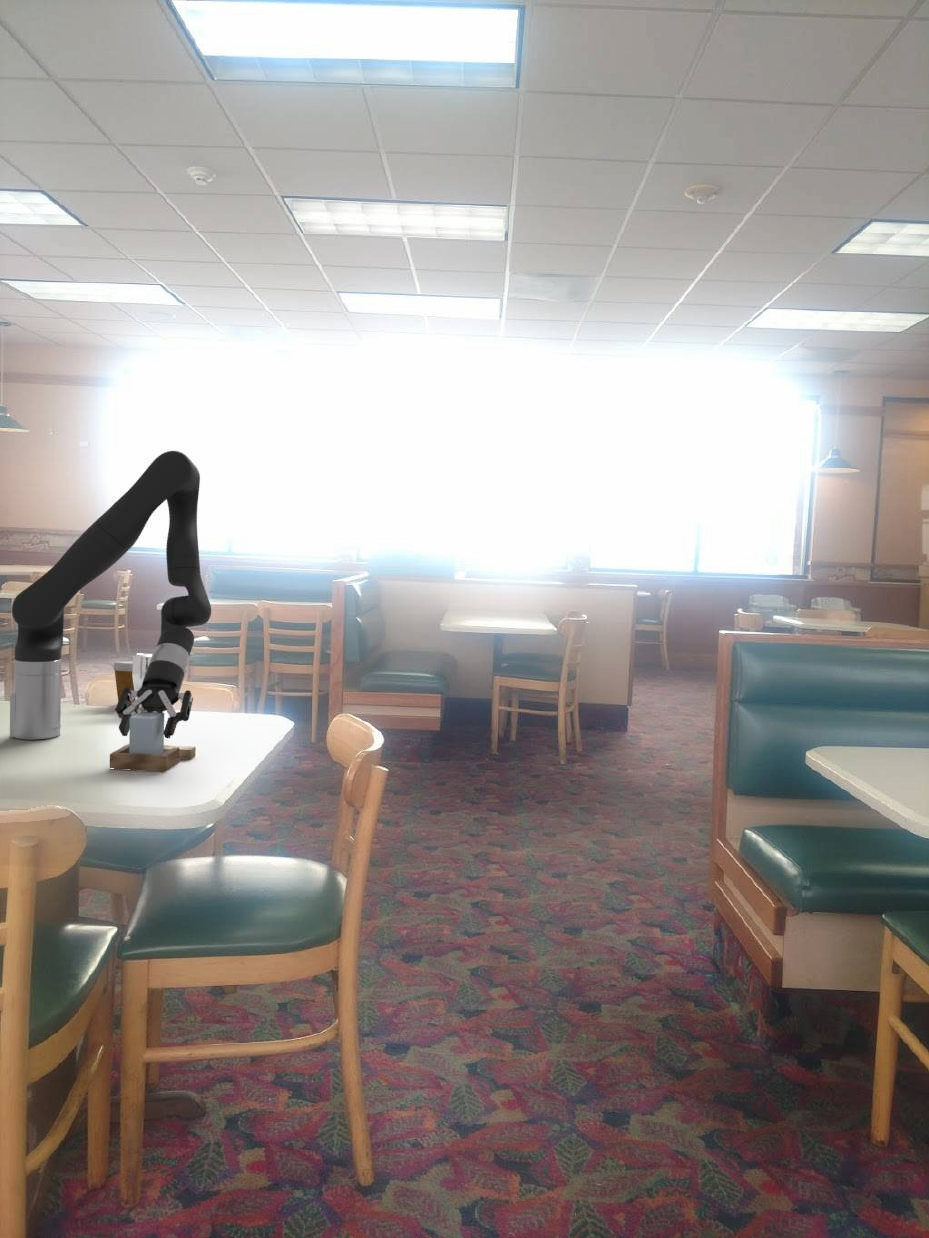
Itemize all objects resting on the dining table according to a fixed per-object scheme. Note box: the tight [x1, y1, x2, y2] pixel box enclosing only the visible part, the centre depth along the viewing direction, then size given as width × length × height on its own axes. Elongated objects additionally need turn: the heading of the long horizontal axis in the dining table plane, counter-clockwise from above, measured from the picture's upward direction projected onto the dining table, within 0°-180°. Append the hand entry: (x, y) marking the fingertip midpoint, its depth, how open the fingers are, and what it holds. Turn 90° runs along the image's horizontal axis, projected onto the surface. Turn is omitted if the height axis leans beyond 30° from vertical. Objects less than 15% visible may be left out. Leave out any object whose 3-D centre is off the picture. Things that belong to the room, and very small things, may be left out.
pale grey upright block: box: [128, 712, 165, 755], centre depth 165 cm, size 4×6×10 cm
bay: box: [109, 744, 180, 772], centre depth 164 cm, size 11×8×3 cm
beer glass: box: [132, 653, 153, 712], centre depth 216 cm, size 7×7×15 cm
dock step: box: [126, 743, 196, 760], centre depth 172 cm, size 14×3×2 cm, turn 90°
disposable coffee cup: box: [112, 658, 135, 707], centre depth 225 cm, size 10×10×12 cm
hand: (145, 735), depth 164 cm, fingers open, 8 cm apart
